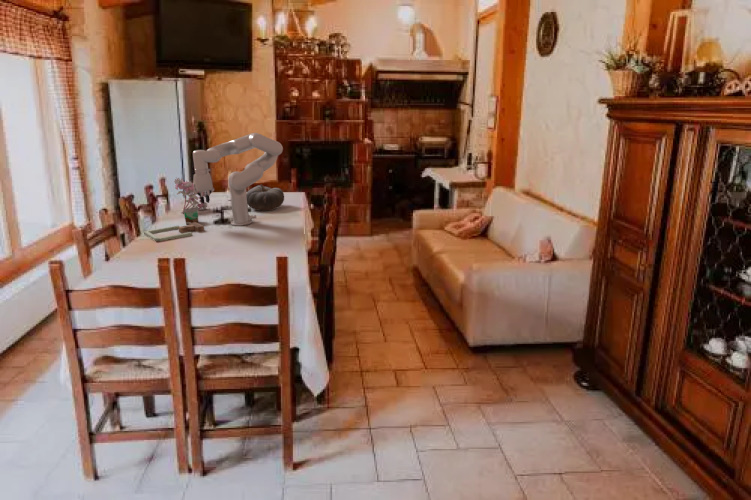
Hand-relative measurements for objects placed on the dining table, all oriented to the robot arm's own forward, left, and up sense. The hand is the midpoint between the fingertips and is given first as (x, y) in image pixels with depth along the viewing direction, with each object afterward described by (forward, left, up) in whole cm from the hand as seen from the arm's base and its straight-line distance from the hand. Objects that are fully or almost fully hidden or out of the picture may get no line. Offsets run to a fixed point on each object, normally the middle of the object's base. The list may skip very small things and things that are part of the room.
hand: (205, 202), depth 324 cm
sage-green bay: (+23, 0, -15) cm, 28 cm away
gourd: (-50, -22, -15) cm, 57 cm away
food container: (+2, -17, -15) cm, 23 cm away
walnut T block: (+11, 0, -15) cm, 19 cm away
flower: (-12, -52, -15) cm, 56 cm away
